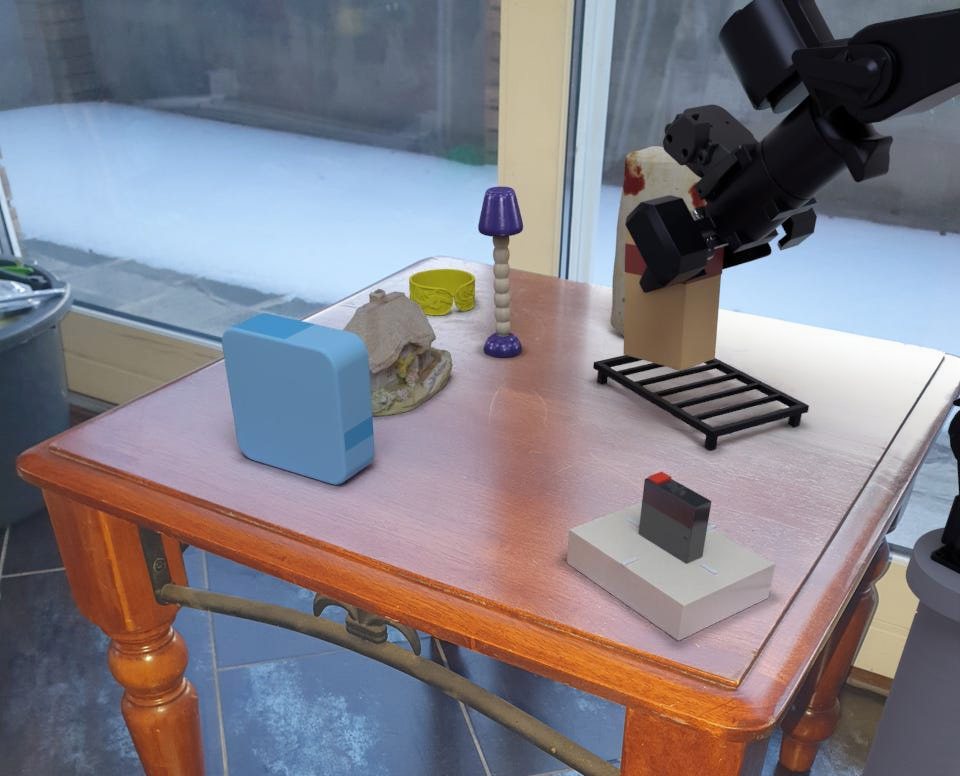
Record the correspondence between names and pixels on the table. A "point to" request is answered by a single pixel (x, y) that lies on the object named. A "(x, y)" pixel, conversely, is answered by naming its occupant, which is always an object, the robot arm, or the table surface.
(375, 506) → the table surface
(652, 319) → the packet
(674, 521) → the gray box
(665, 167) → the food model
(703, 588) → the light grey block
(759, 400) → the bed frame
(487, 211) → the toy lamp
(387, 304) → the ceramic model
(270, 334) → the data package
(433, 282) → the bracelet
